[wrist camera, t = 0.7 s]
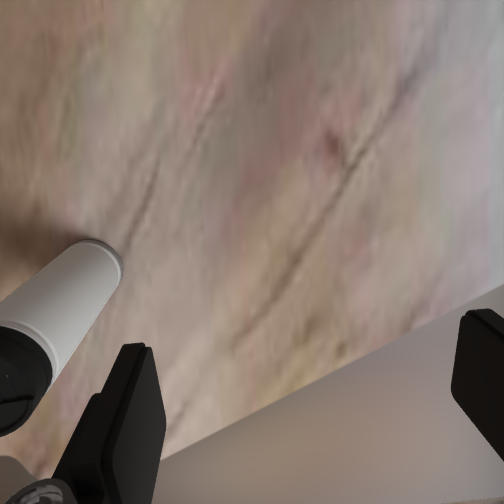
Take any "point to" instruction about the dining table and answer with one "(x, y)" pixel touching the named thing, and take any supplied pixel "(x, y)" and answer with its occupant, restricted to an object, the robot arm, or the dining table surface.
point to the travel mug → (50, 324)
